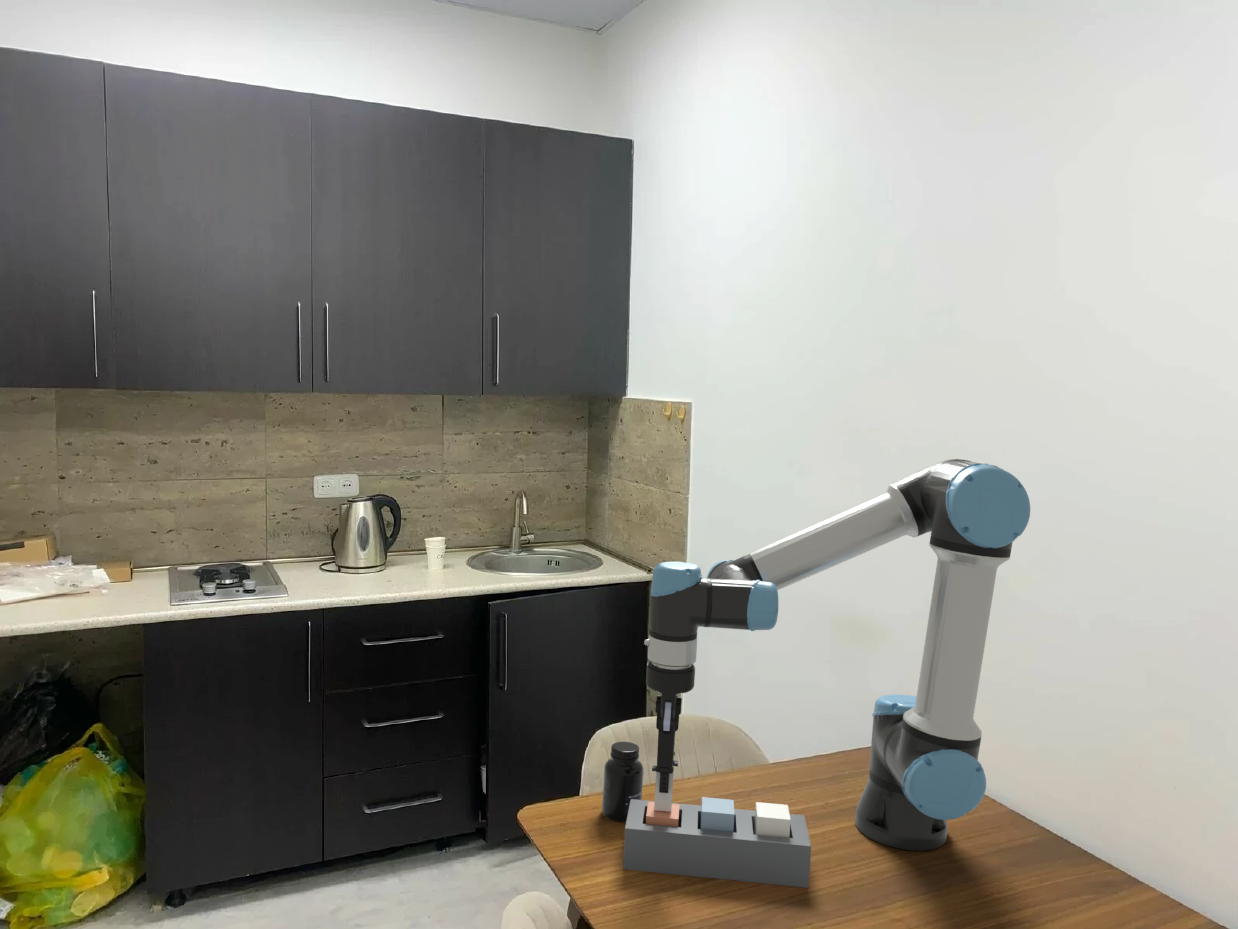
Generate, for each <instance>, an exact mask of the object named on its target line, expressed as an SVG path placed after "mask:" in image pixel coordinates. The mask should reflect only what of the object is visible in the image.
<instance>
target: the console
mask: <svg viewBox="0 0 1238 929" xmlns="http://www.w3.org/2000/svg"><path fill="white" fill-rule="evenodd" d="M654 801H655V800H648V799H647V800H645V799H642V800H636V799H631V801H630V806H629V811H628V816H627V821H626V822H625V826H624V839H623V840H624V843H623V862H622V869H623V870H628V871H637V872H639V871H640V872H648V873H656V874H657V873H658V874H666V875H667V874H668V875H677V876H686V877H687V876H688V877H696V878H697V877H698V878H707V879H708V878H709V879H717V880H718V879H719V880H726V881H727V880H729V881H737V882H747V883H756V884H767V885H775V886H777V885H778V886H787V887H795V888H806V889H807V888H809V884H810V883H809V882H810V870H811V854H812V845H811V844H812V843H811V841H810V836H809V834H810V833H809V830H808V826H807V822H806V818H805V815H804V814H795V813H794V814H793V813H789V814H790V820H791V821H790V835H789V838H786V837H776V836H766V835H755V834H754V823H755V810H750V809H740V808H734V830H733V832H724V831H714V830H703V829H700V823H701V806H702V805H698V804H689V803H677V802H672V804H679V823H678V827H672V826H662V825H651V824H646V814H647V807H648V802H654Z"/></svg>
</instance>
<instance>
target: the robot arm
mask: <svg viewBox="0 0 1238 929" xmlns="http://www.w3.org/2000/svg"><path fill="white" fill-rule="evenodd" d="M1030 502H1031V501H1030V498H1029V495H1028V493H1027V491H1026V488H1025V487H1024V485H1023V484H1022V483H1021V481H1020V480H1019V479H1018V478H1017V477H1016V476H1014V475H1013V474H1012V473H1010V472H1009V471H1007V470H1005V469H1003V468H1001V467H998V466H997V465H994V464H990V463H979V462H974V461H971V460H968V459H967V460H966V459H959V458H955V459H946V460H944V461H939V462H936V463H935V464H932V465H930V466H928V467H926V468H924V469H921V470H919V471H917V472H914V473H912V474H911V475H909V476H906V477H905V478H903V479H901V480H898V481H896V482H894V483H893V482H892V484H889V485H888V488H887V490H886V492H885V493H884V494H882V495H879V496H877V497H875V498H873V499H870V500H868V501H866V502H863V503H862V504H858V505H857V506H854V507H852V508H850V509H848V510H845V511H843V512H841V513H839V514H836V515H834V516H832V517H829V518H827V519H826V520H822V521H820V522H818V523H816V524H814V525H811V526H810V527H807V528H804V529H802V530H800V531H798V532H795V533H793V534H791V535H789V536H787V537H784V538H782V539H780V540H777V541H775V542H773V543H770V544H768V545H766V546H764V547H762V548H760V549H757V550H755V551H753V552H751V553H749V554H746V555H743V556H740V557H739V558H736V559H734V560H733V559H724V560H720V561H718V562H716V563H714V564H713V566H712V567H711V568H710V569H709V571H708V573H707V576H706V577H703V575H702V571H701V567H700V566H699V565H697V564H695V563H691V562H683V561H664V562H660V563H658V564H656V566H655V567H654V568H653V571H652V577H651V578H652V579H651V588H650V597H649V598H650V599H649V600H650V601H649V620H648V621H649V623H648V639H644V641H643V642H644V643H643V645H645V646H648V647H647V659H648V662H647V663H646V673H645V674H646V678H645V684H646V686H647V687H648V688H649V689H650V690H652V691H654V692H659V693H660V694H657V695H656V700H655V713H656V722H655V723H656V725H655V727H656V729H657V731H658V734H657V754H656V755H657V757H656V765H652V768H651V771H652V772H655V789H654V800H653V801H654V810H657V811H668V812H671V808H672V803H673V790H674V789H673V788H674V773H675V772H674V771H675V768H674V767H679V760H674V757H675V755H676V751H675V742H676V740H675V739H676V732H677V731H678V730H679V724H680V715H681V712H682V701H683V697H682V696H679V694H687V693H688V692H691V691H692V690H694V687H695V679H696V678H695V676H696V666H695V663H696V662H697V650H698V628H699V627H701V628H702V627H703V628H713V629H714V628H717V629H729V630H730V629H732V630H743V631H744V630H745V631H746V630H747V631H751V632H755V631H770V630H772V629H774V628H775V626H776V624H777V621H778V617H779V616H778V615H779V591H780V590H781V589H785V588H787V587H789V586H791V585H793V584H796V583H798V582H800V581H803V580H806V579H807V578H810V577H812V576H815V575H816V574H819V573H821V572H823V571H826V570H829V569H830V568H832V567H835V566H837V565H840V564H842V563H845V562H847V561H849V560H851V559H853V558H856V557H859V556H860V555H863V554H864V553H865V554H866V553H868V552H870V551H872V550H875V549H876V548H879V547H881V546H883V545H885V544H888V543H890V542H892V541H895V540H897V539H900V538H902V537H905V536H909V537H912V538H917V537H920V536H922V535H924V534H926V533H930V538H929V547H930V548H931V549H932V550H933V552H934V554H935V555H936V557H937V561H936V568H935V572H934V573H935V575H934V580H933V587H932V594H931V601H930V606H929V613H928V620H927V627H926V631H925V640H924V646H923V653H922V658H921V659H922V661H921V667H920V672H919V678H918V685H917V691H916V695H910V694H884V695H882V696H880V697H878V698H876V700H875V702H874V709H873V713H872V714H871V715H872V717H873V718H872V727H871V728H872V732H871V743H870V744H871V745H870V755H869V756H870V757H869V760H870V761H869V773H868V779H867V780H868V781H867V782H866V785H865V787H864V789H863V791H862V794H861V796H860V798H859V800H858V803H857V805H856V808H855V818H854V822H855V825H856V828H857V829H858V830H859V831H860V832H861V833H862V834H864V836H866V837H868V839H869V838H870V839H871V840H873V841H875V842H877V843H880V844H881V845H885V846H888V847H892V848H895V849H899V850H900V849H901V850H907V851H916V852H917V851H931V850H934V849H938V848H940V847H942V846H943V845H944V844H946V842H947V839H948V838H947V837H948V829H949V828H948V821H949V820H955V819H959V818H962V817H964V816H965V815H966V814H968V813H969V812H972V811H974V810H975V809H976V808H977V807H978V806H979V804H981V802H982V801H983V798H984V796H985V793H986V789H987V777H986V774H985V770H984V767H983V766H982V763H980V762H979V754H980V748H981V740H982V730H981V728H980V727H979V726H978V724H977V722H976V721H975V720H974V717H975V716H974V715H975V710H976V709H975V708H976V704H977V697H978V692H979V691H978V690H979V684H980V678H981V671H982V667H983V666H982V665H983V659H984V653H985V647H986V646H985V645H986V640H987V636H988V634H987V633H988V627H989V621H990V616H991V608H992V604H993V603H992V602H993V597H994V592H995V591H994V590H995V584H996V577H997V570H998V568H999V567H1000V566H1001V565H1002V564H1004V563H1005V562H1007V561H1008V560H1010V559H1011V552H1012V548H1013V543H1014V541H1016V540H1017V539H1018V537H1020V536H1021V535H1022V534H1023V533H1024V531H1025V530H1026V528H1027V526H1028V524H1029V520H1030V516H1031V503H1030Z"/></svg>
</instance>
